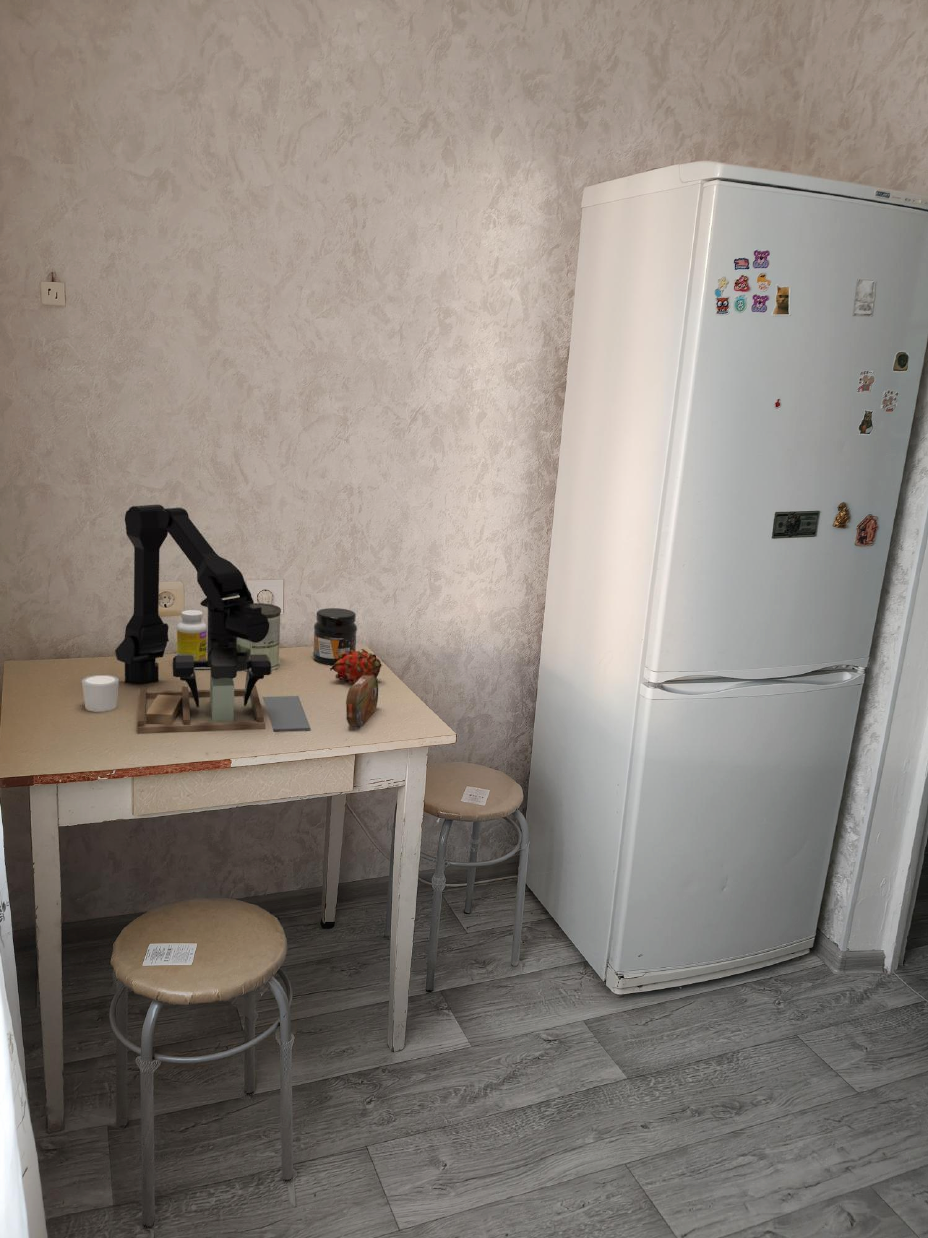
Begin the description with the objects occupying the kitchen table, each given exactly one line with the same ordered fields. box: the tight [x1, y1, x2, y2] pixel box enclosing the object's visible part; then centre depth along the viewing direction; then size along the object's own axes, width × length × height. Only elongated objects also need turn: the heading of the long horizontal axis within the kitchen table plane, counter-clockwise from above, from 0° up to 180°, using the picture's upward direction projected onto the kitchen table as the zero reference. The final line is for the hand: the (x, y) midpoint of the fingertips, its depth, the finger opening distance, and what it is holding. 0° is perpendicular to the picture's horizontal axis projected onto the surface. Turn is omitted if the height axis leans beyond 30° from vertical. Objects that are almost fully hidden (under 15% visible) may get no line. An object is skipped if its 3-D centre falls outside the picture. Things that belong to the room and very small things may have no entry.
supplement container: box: [312, 607, 358, 666], centre depth 233 cm, size 10×10×12 cm
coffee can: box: [237, 602, 282, 672], centre depth 223 cm, size 10×10×14 cm
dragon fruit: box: [329, 648, 383, 684], centre depth 218 cm, size 8×8×12 cm
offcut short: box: [145, 695, 182, 725], centre depth 187 cm, size 5×11×2 cm, turn 6°
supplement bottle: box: [176, 609, 208, 661], centre depth 220 cm, size 7×7×13 cm
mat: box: [262, 695, 311, 733], centre depth 195 cm, size 8×19×1 cm, turn 17°
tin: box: [345, 675, 379, 727], centre depth 195 cm, size 15×3×8 cm, turn 168°
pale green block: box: [209, 670, 235, 723], centre depth 190 cm, size 4×12×9 cm, turn 17°
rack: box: [137, 684, 266, 735], centre depth 189 cm, size 23×20×4 cm
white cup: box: [81, 674, 120, 713], centre depth 188 cm, size 7×7×7 cm
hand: (221, 706), depth 190 cm, fingers open, 9 cm apart
